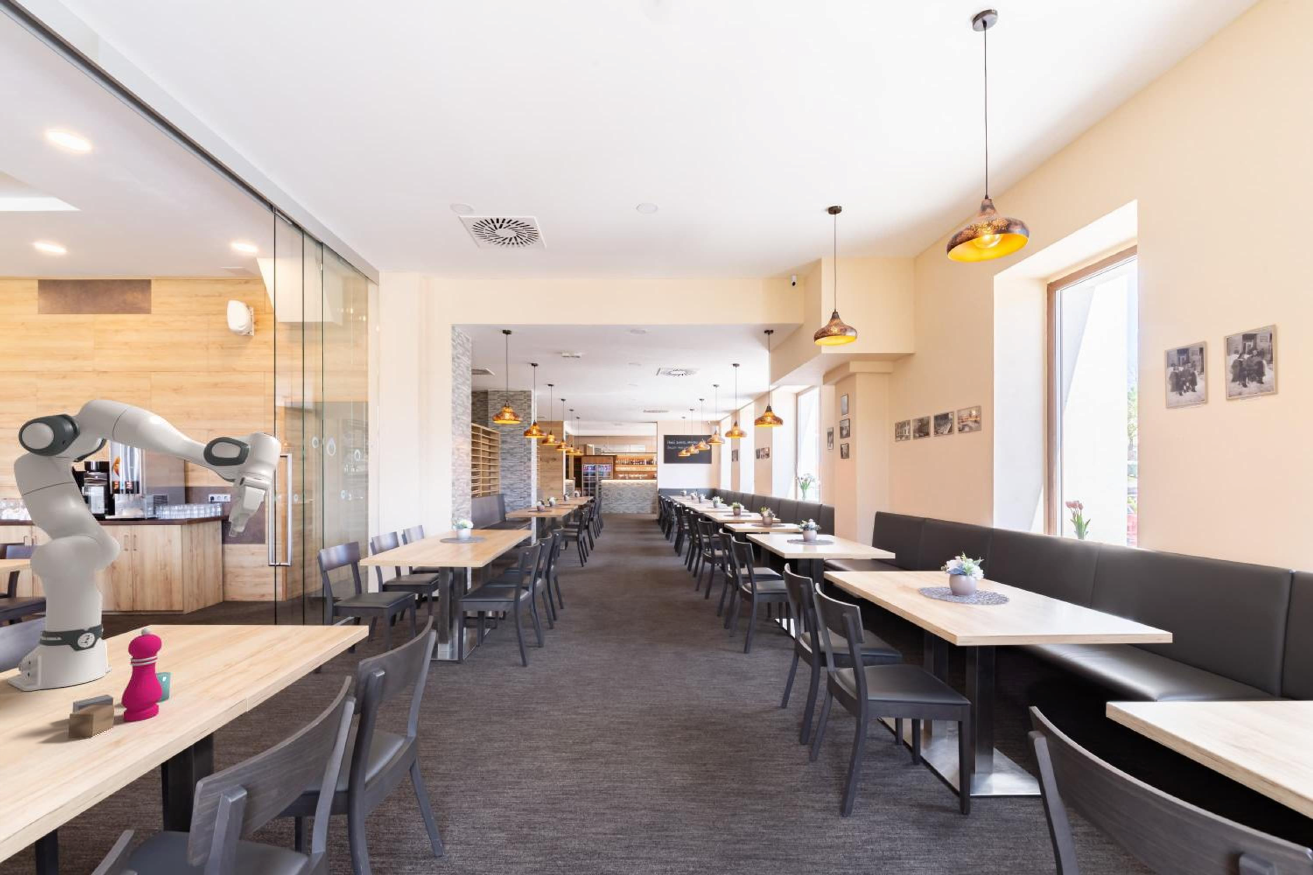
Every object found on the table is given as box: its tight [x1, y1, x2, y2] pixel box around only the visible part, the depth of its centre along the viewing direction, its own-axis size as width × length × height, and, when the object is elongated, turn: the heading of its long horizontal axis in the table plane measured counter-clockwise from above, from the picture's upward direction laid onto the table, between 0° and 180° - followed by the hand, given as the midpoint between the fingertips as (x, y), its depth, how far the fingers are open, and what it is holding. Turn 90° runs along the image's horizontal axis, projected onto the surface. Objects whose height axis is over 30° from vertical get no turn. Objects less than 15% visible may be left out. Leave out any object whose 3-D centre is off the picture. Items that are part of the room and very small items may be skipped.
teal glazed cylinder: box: [155, 671, 172, 704], centre depth 149 cm, size 5×5×6 cm
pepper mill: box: [120, 627, 163, 723], centre depth 140 cm, size 7×7×20 cm
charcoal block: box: [71, 694, 114, 713], centre depth 139 cm, size 4×6×4 cm, turn 147°
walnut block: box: [67, 704, 115, 739], centre depth 130 cm, size 5×5×5 cm
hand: (235, 533), depth 169 cm, fingers open, 8 cm apart
